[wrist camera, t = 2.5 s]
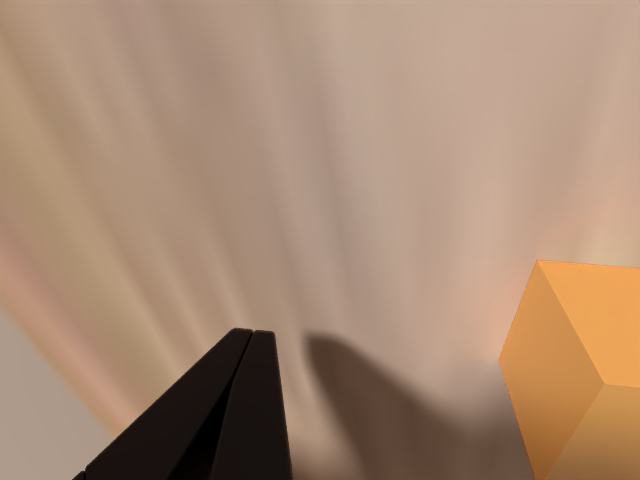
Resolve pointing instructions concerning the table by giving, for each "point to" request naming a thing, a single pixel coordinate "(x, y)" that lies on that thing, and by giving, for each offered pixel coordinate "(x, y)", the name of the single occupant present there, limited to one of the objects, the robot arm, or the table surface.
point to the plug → (577, 371)
